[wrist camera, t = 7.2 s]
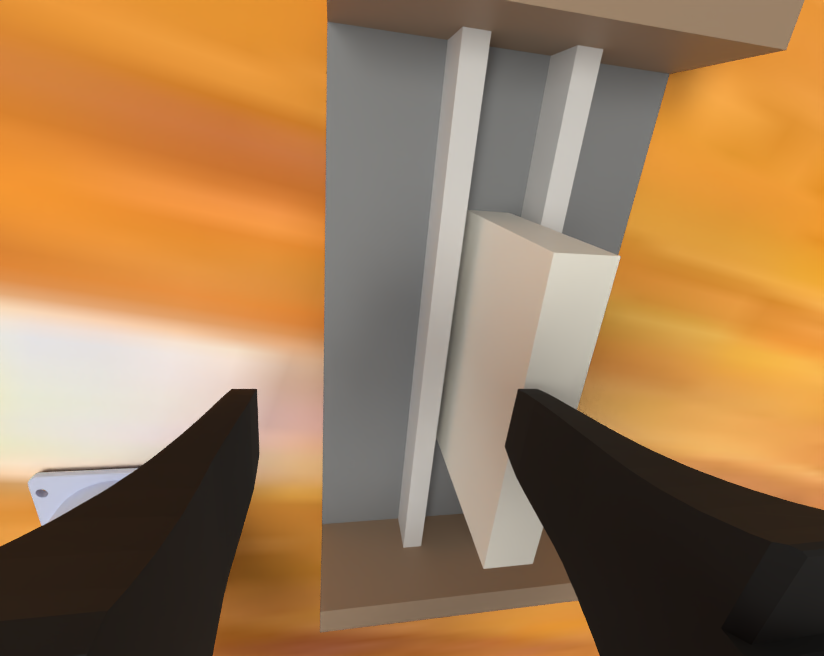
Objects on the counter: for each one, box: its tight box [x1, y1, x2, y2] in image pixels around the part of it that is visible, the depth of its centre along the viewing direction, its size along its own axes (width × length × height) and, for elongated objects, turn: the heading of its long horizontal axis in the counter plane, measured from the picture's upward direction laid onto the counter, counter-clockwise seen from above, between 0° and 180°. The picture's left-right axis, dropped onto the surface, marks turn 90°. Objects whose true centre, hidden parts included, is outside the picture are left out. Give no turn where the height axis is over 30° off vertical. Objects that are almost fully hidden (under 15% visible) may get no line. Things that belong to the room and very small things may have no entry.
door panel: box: [436, 210, 621, 569], centre depth 17 cm, size 12×2×8 cm, turn 175°
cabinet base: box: [320, 0, 804, 632], centre depth 19 cm, size 27×14×6 cm, turn 175°
